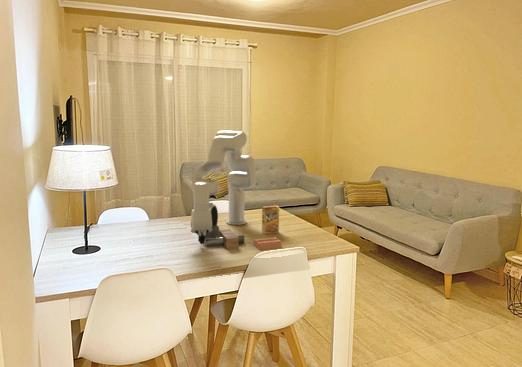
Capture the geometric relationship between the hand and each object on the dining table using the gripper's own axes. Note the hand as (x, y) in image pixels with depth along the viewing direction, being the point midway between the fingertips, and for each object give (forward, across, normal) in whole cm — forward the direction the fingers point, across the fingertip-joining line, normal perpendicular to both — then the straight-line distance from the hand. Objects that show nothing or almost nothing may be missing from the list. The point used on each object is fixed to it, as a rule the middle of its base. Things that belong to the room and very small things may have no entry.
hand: (201, 242), depth 200 cm
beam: (+2, -14, 0) cm, 14 cm away
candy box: (+2, -42, -12) cm, 44 cm away
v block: (+2, -32, +9) cm, 33 cm away
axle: (0, -12, 0) cm, 12 cm away
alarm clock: (+2, -8, -17) cm, 19 cm away
